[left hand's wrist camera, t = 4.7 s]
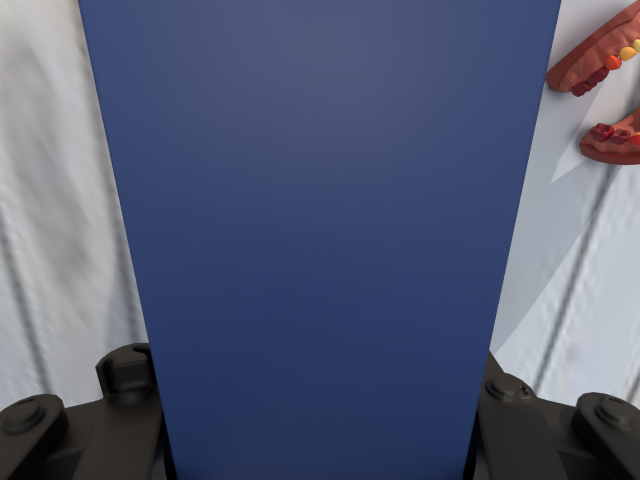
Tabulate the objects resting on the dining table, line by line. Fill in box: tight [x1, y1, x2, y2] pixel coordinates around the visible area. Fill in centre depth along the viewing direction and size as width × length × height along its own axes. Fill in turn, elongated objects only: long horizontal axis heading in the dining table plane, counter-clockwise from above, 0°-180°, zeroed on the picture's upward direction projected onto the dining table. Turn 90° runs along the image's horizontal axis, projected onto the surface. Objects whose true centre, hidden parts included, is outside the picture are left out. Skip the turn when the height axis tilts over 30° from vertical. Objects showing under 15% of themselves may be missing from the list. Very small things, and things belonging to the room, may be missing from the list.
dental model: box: [545, 0, 640, 165], centre depth 19 cm, size 6×4×8 cm
